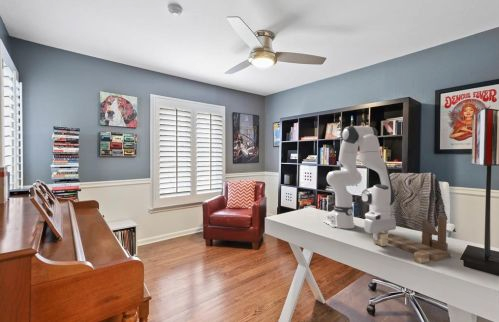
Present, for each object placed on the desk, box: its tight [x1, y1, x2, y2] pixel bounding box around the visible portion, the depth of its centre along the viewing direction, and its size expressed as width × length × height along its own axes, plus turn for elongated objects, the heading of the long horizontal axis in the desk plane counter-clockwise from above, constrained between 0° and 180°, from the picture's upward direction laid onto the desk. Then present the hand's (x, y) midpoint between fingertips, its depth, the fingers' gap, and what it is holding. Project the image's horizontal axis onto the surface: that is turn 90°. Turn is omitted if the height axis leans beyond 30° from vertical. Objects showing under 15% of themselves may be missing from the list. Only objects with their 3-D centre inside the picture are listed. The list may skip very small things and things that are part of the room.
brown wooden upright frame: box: [421, 214, 449, 252], centre depth 132 cm, size 4×11×18 cm, turn 29°
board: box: [388, 233, 452, 262], centre depth 132 cm, size 32×12×2 cm, turn 22°
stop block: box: [413, 251, 430, 265], centre depth 115 cm, size 3×6×4 cm, turn 112°
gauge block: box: [372, 232, 389, 247], centre depth 135 cm, size 6×4×6 cm, turn 22°
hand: (380, 239), depth 135 cm, fingers closed on gauge block, 4 cm apart
